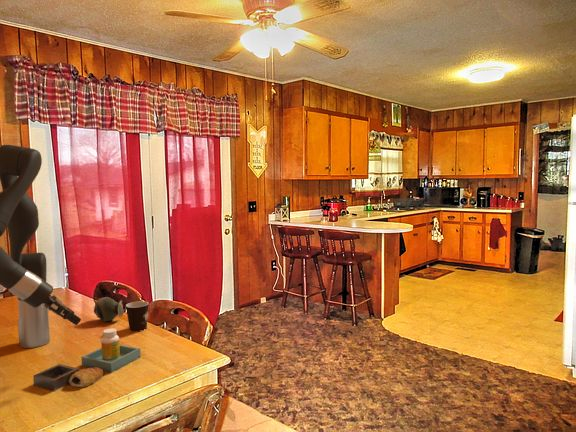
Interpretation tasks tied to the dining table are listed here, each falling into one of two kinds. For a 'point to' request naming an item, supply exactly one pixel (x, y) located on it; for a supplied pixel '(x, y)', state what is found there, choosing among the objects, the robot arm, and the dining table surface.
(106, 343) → the supplement bottle
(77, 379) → the pastry
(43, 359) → the dining table surface
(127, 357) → the tray
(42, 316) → the robot arm
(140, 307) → the coffee mug
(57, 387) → the collar
